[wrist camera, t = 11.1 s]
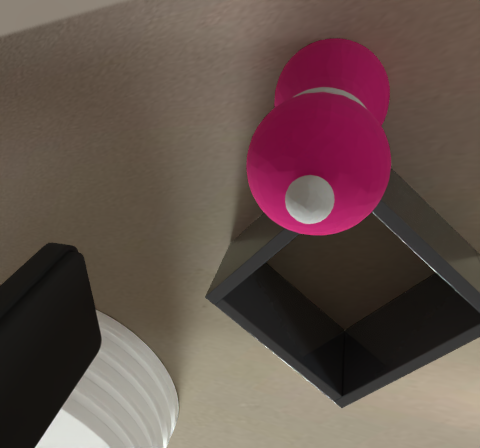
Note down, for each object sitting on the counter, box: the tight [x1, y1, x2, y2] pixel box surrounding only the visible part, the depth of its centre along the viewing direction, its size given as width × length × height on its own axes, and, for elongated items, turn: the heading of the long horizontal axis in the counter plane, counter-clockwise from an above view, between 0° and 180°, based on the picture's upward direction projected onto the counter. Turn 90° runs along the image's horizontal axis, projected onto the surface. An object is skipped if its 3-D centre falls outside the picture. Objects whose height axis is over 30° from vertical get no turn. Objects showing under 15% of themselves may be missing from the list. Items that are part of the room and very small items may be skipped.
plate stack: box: [35, 309, 179, 448], centre depth 52 cm, size 28×28×12 cm
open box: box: [205, 168, 480, 408], centre depth 35 cm, size 15×15×8 cm
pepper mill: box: [246, 38, 391, 235], centre depth 24 cm, size 7×7×20 cm
